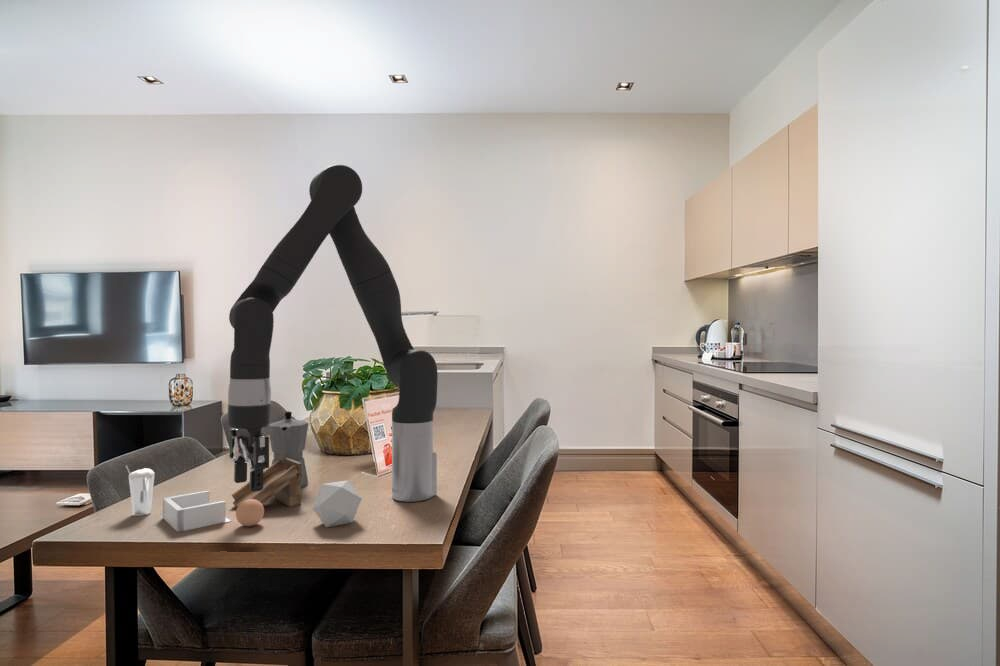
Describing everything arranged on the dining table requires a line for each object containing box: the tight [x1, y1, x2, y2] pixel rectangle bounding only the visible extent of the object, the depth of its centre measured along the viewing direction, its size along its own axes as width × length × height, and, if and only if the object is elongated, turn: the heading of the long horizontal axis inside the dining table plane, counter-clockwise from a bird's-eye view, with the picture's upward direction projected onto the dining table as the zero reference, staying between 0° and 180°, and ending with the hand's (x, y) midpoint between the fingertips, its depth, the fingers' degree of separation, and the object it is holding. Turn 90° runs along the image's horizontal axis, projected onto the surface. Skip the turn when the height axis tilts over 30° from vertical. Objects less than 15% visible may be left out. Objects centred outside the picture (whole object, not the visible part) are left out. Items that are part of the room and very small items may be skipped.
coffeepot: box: [267, 410, 309, 488], centre depth 141 cm, size 15×9×18 cm, turn 12°
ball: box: [235, 499, 265, 527], centre depth 110 cm, size 5×5×5 cm
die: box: [312, 480, 362, 528], centre depth 112 cm, size 8×9×10 cm
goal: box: [162, 490, 227, 533], centre depth 114 cm, size 8×11×4 cm
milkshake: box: [125, 465, 155, 517], centre depth 118 cm, size 4×5×10 cm
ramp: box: [231, 457, 302, 509], centre depth 123 cm, size 12×8×9 cm
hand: (248, 486), depth 110 cm, fingers open, 8 cm apart
